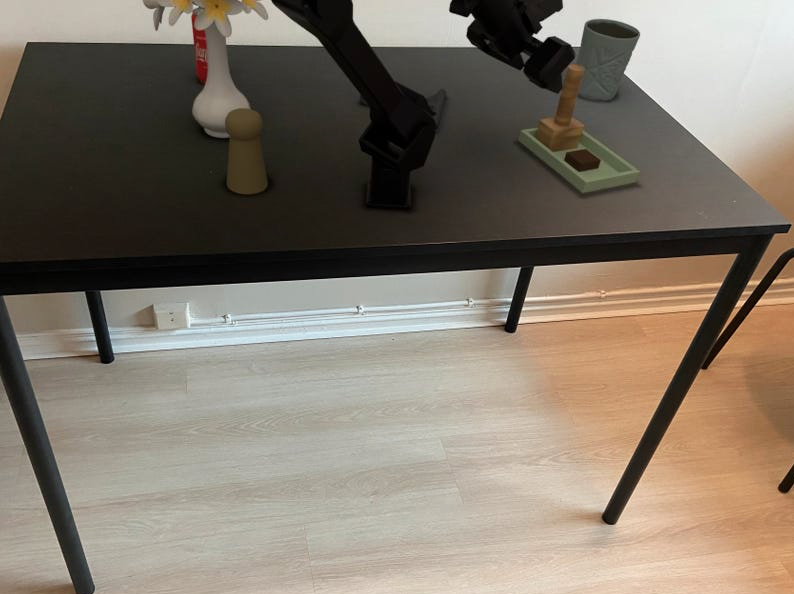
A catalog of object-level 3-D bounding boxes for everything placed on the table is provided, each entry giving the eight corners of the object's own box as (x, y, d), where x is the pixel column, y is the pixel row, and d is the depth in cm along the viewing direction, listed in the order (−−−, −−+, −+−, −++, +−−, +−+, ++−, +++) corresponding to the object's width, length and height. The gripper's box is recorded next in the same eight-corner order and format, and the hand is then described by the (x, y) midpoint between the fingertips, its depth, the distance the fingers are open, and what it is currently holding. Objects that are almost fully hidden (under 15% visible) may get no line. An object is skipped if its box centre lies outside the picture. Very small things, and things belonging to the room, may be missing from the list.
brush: (547, 153, 117) (568, 74, 108) (533, 141, 120) (552, 64, 111) (578, 148, 119) (600, 70, 110) (563, 137, 122) (584, 60, 113)
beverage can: (232, 79, 132) (227, 11, 123) (213, 88, 128) (207, 18, 120) (210, 72, 133) (204, 4, 125) (191, 80, 130) (184, 11, 122)
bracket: (367, 87, 133) (368, 72, 131) (445, 98, 132) (447, 83, 130) (352, 120, 123) (352, 104, 121) (436, 132, 121) (439, 117, 120)
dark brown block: (598, 168, 114) (601, 159, 113) (578, 172, 113) (581, 163, 112) (583, 157, 117) (586, 148, 116) (563, 160, 116) (566, 152, 115)
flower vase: (159, 117, 119) (134, -50, 102) (268, 110, 123) (262, -51, 106) (164, 154, 110) (139, -22, 93) (282, 145, 114) (278, -24, 97)
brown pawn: (250, 198, 102) (246, 126, 95) (218, 185, 104) (211, 113, 97) (276, 182, 106) (274, 111, 98) (244, 169, 108) (240, 99, 100)
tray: (635, 185, 112) (640, 171, 111) (581, 196, 109) (585, 182, 107) (568, 134, 124) (571, 121, 122) (517, 143, 120) (520, 129, 119)
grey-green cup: (564, 79, 142) (580, 16, 134) (614, 83, 142) (633, 20, 134) (573, 101, 135) (590, 35, 126) (625, 105, 135) (646, 40, 127)
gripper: (583, -19, 89) (621, 59, 101) (497, -59, 101) (540, 15, 113) (521, 52, 92) (565, 120, 103) (443, 6, 103) (490, 72, 115)
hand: (540, 79), depth 109 cm, fingers open, 9 cm apart
